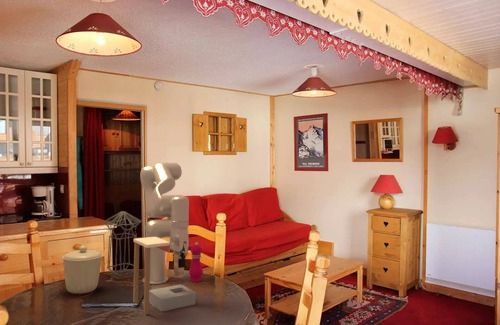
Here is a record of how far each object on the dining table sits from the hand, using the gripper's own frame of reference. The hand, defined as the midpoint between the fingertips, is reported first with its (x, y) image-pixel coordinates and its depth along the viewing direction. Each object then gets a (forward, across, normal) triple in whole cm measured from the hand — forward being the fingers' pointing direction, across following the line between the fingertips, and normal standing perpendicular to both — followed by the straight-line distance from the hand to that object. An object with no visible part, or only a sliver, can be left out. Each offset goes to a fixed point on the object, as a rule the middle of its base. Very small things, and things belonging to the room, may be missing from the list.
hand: (179, 265), depth 174 cm
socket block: (+16, -1, -3) cm, 16 cm away
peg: (+5, 0, 0) cm, 5 cm away
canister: (+16, -39, -31) cm, 52 cm away
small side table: (+16, -1, -13) cm, 21 cm away
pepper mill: (+16, -25, +22) cm, 37 cm away
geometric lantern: (+15, -52, -8) cm, 54 cm away
